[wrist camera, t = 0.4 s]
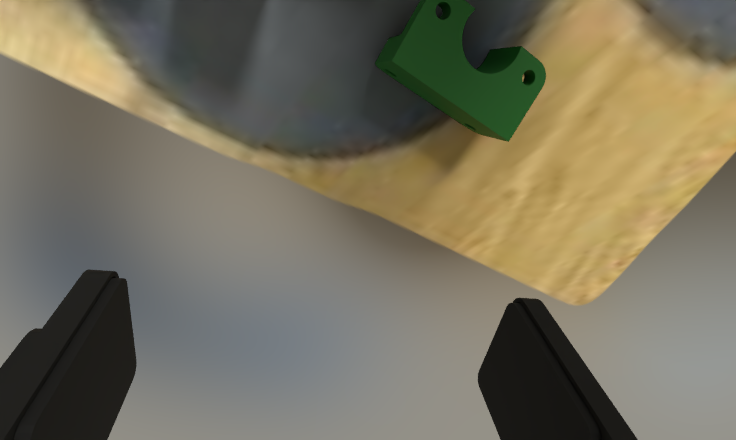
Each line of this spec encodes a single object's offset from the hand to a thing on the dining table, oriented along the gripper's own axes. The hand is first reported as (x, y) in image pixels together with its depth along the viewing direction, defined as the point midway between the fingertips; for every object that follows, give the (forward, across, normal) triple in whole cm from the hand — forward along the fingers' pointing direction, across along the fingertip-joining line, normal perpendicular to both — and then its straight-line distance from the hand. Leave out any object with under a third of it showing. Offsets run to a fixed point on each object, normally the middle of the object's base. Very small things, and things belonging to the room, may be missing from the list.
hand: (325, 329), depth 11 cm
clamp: (+28, -11, -3) cm, 31 cm away
